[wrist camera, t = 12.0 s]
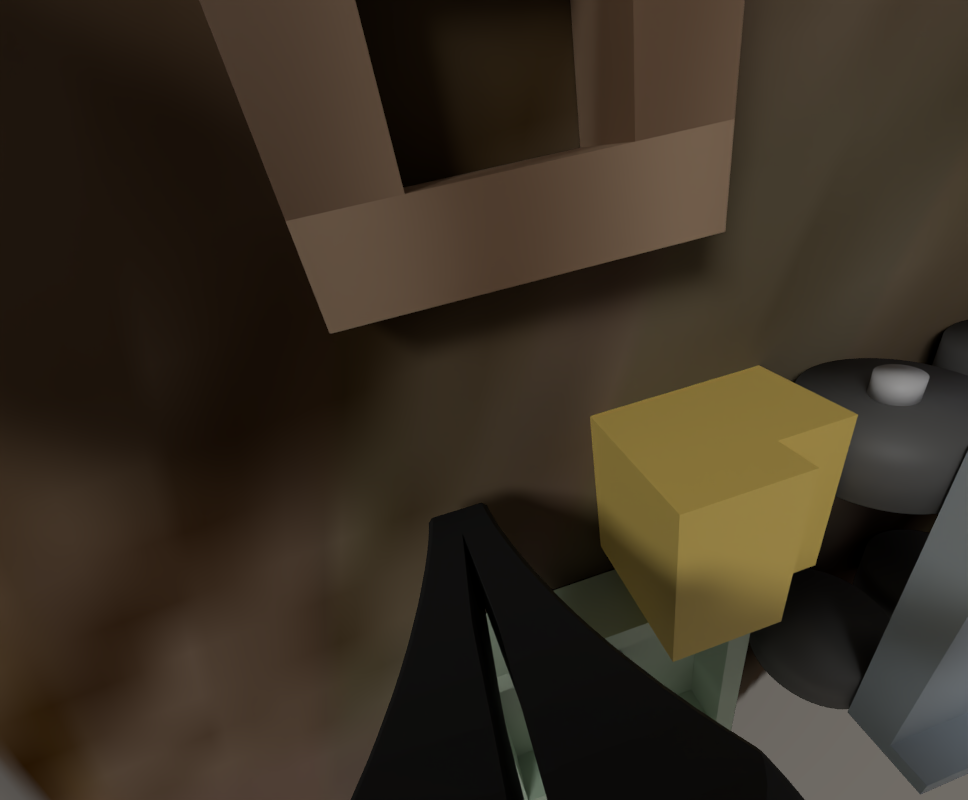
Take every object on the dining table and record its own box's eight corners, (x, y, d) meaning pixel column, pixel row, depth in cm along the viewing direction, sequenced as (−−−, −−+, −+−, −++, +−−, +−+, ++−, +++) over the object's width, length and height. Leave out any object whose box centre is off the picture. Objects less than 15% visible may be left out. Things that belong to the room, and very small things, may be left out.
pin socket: (666, -320, 6) (788, -523, 4) (659, 220, 9) (724, 231, 8) (128, -266, 5) (9, -485, 3) (337, 301, 9) (329, 333, 7)
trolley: (1025, 285, 13) (1491, 366, 8) (904, 560, 19) (1115, 713, 14) (761, 364, 12) (1079, 521, 7) (723, 627, 18) (873, 821, 13)
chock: (754, 362, 12) (906, 438, 9) (736, 495, 15) (849, 595, 11) (587, 412, 12) (679, 515, 8) (598, 541, 14) (673, 662, 11)
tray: (715, 534, 15) (760, 582, 13) (699, 681, 20) (731, 730, 18) (448, 626, 14) (459, 690, 12) (498, 757, 19) (512, 817, 17)
